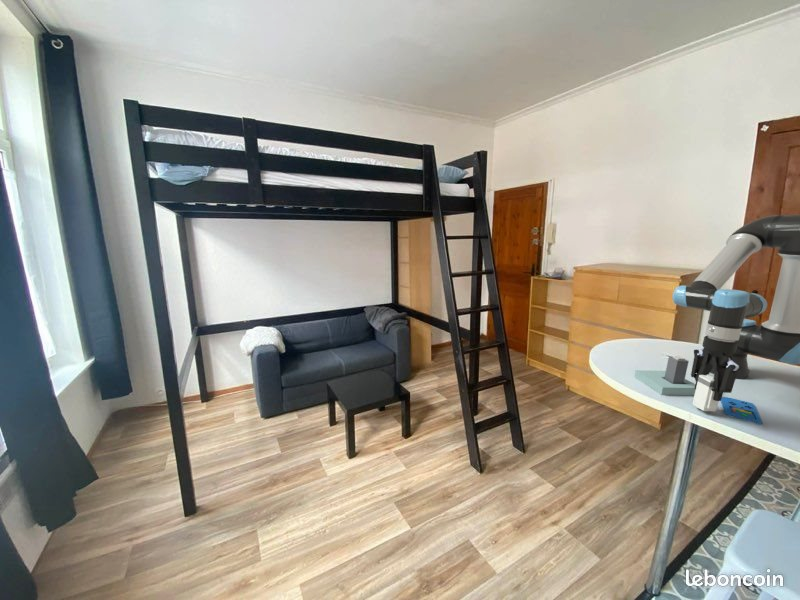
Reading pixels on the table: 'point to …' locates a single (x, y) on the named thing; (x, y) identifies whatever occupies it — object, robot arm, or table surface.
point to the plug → (676, 370)
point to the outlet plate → (664, 383)
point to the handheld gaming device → (740, 410)
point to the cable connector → (703, 392)
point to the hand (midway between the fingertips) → (704, 403)
